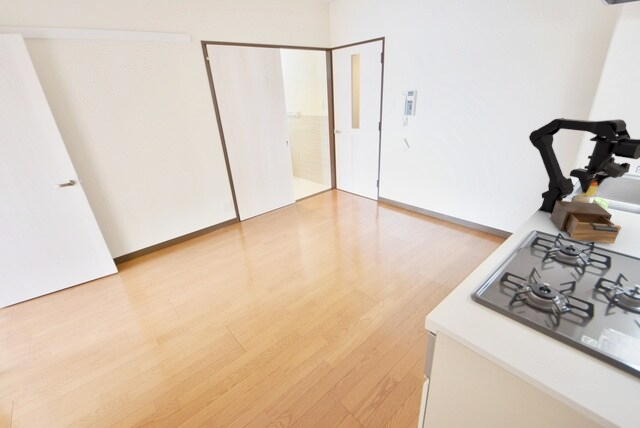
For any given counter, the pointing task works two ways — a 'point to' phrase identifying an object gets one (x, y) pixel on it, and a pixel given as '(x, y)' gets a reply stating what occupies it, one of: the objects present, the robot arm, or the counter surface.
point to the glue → (591, 189)
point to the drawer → (591, 228)
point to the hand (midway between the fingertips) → (588, 192)
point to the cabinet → (575, 211)
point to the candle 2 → (601, 202)
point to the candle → (580, 198)
